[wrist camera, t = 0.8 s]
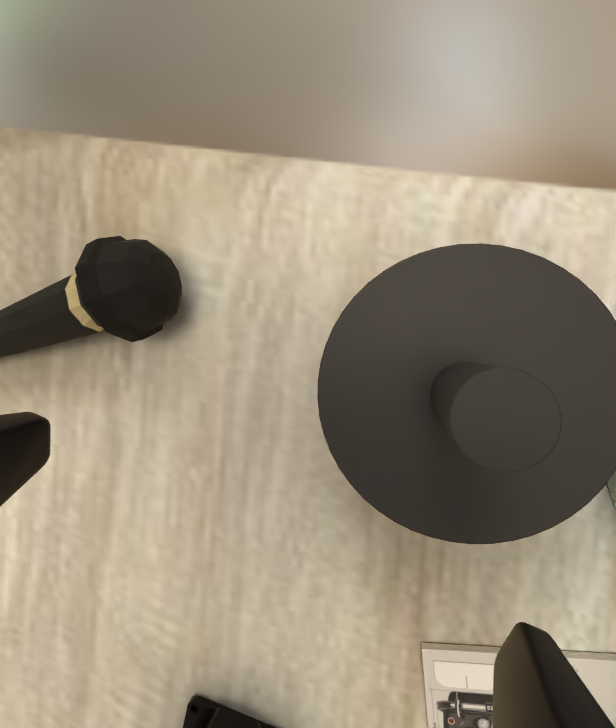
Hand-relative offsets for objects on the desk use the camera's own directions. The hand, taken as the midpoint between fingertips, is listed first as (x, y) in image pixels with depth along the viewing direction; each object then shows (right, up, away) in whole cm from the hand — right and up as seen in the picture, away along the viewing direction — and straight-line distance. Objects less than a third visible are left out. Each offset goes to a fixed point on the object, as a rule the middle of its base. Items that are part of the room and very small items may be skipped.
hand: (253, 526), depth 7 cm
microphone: (-15, +6, +20) cm, 25 cm away
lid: (+7, +2, +9) cm, 12 cm away
